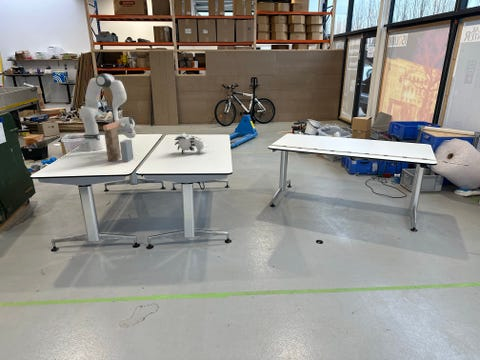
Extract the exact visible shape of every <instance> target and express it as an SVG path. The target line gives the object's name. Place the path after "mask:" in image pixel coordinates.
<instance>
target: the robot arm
mask: <svg viewBox="0 0 480 360" xmlns="http://www.w3.org/2000/svg"><path fill="white" fill-rule="evenodd" d="M103 88H107V89H108V88H109V89H110V90H111V94H112V101H111V102H110V104H111V117H112V122H110V123H108V124H111V123H114V122H117V121H120V126H117V130H118V132H119V133H120V134H122V135H124V136H125V137H126V138H127V139H128V138H129V139H134V138H135V137H136V135H137V134H136V129H135V128H136V122H135V120H134V119H133V118H132V117H131V116H127V117H126V116H125V117H123V118H119V111H118V110H119V107H120V106H121V105H123V104H125V103H126V101H127V100H128V99H127V97H128V96H127V92H126V89H125V87H124V84H123V82H122V81H121V80H119V79H116V78H115V76H114V75H113V74H110V73H100V74H98V75H97V76H96V77H93V78H90V80H89V81H88V85H87V88H86V92H85V105H84V106H83V107H81V109H79V112H78V114H79V116H80V118H81V120H82V123H83V127H84V132H85V134H83V139H82V140H81V141H79V143H78V147H77V148H76V151H83V152H93V151H100V150H102V149H104V148H103V145H102V142H101V136H100V132H99V125H98V123H97V120H96V118H95V117H97V115H98V114H99V101H100V97H101V92H102V89H103Z"/></svg>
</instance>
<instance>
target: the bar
mask: <svg viewBox="0 0 480 360" xmlns="http://www.w3.org/2000/svg"><path fill="white" fill-rule="evenodd" d="M110 123H111V124H109V123H108V124H106V125H103V126H102V127H103V128H102V129H103V131H104V130H109V129H112V128H114V127H117V126H120V121H117V122H114V123H113V122H110Z"/></svg>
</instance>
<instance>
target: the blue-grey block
mask: <svg viewBox="0 0 480 360" xmlns="http://www.w3.org/2000/svg"><path fill="white" fill-rule="evenodd" d="M119 146H120V154H121V162H122V163H123V162H124V163H129V162H131V161H132V160H134V159H135V158H134V151H133V150H134V149H133V141H132V139H123V140H122V141H119Z"/></svg>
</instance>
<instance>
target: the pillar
mask: <svg viewBox="0 0 480 360" xmlns="http://www.w3.org/2000/svg"><path fill="white" fill-rule="evenodd" d="M118 132H119V131H118V130H117V127H114V128H112V129H109V130H104V129H103V134H104V139H105V147H106V148H105V149H106V154H107V155H106V156H107V161H108V162H117V161H119V160H120V159H121V160H122V155H121V147H120V140H119V133H118Z"/></svg>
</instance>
